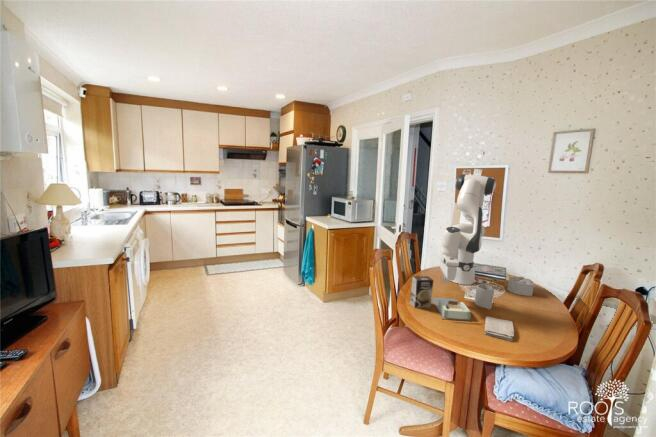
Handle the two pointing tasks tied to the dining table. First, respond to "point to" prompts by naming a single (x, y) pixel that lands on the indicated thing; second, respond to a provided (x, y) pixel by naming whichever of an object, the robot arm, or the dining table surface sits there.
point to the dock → (451, 310)
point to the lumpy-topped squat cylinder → (521, 286)
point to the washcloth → (499, 328)
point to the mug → (484, 296)
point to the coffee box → (421, 291)
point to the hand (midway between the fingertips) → (444, 281)
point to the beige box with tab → (453, 305)
